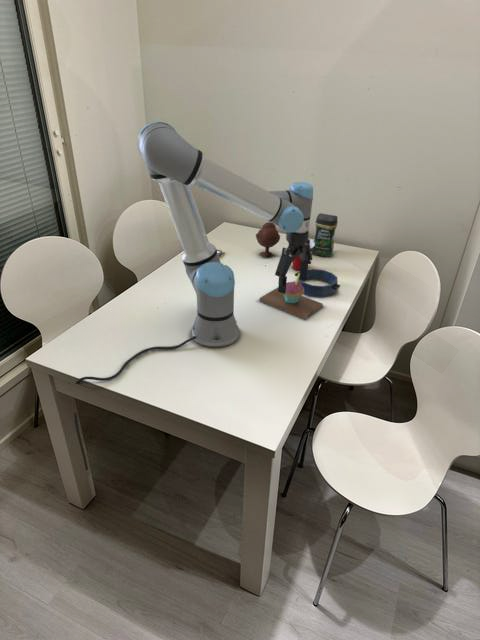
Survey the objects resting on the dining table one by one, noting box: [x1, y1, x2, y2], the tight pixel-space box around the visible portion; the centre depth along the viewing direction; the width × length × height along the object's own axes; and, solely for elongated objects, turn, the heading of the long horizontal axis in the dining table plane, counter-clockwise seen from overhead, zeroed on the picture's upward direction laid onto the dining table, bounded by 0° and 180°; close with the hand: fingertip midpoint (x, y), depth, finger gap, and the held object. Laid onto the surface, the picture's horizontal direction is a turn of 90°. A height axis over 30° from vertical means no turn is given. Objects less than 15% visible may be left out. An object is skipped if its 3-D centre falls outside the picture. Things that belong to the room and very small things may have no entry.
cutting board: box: [259, 287, 324, 320], centre depth 169 cm, size 12×20×2 cm, turn 51°
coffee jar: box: [311, 212, 338, 258], centre depth 206 cm, size 10×8×19 cm
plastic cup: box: [291, 239, 315, 272], centre depth 194 cm, size 11×11×12 cm
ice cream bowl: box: [255, 221, 281, 259], centre depth 204 cm, size 11×11×15 cm
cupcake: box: [282, 271, 305, 303], centre depth 165 cm, size 9×8×12 cm
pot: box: [294, 268, 341, 298], centre depth 180 cm, size 16×19×4 cm
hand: (292, 286), depth 165 cm, fingers open, 13 cm apart
